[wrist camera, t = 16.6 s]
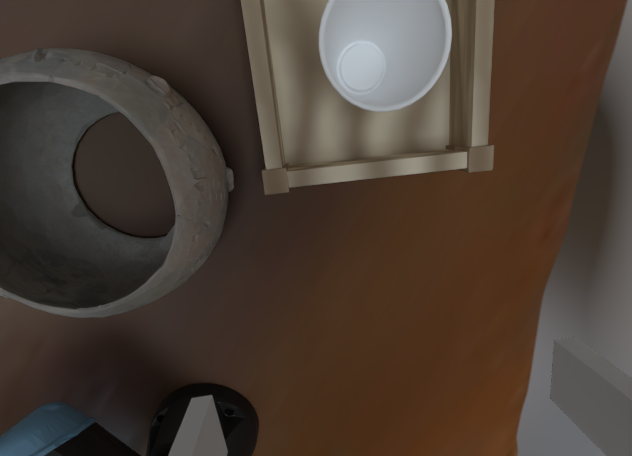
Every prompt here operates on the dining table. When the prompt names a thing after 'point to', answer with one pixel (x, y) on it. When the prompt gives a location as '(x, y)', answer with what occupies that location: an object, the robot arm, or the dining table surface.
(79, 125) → the bowl
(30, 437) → the robot arm
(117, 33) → the dining table surface
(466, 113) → the crate
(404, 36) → the cup
